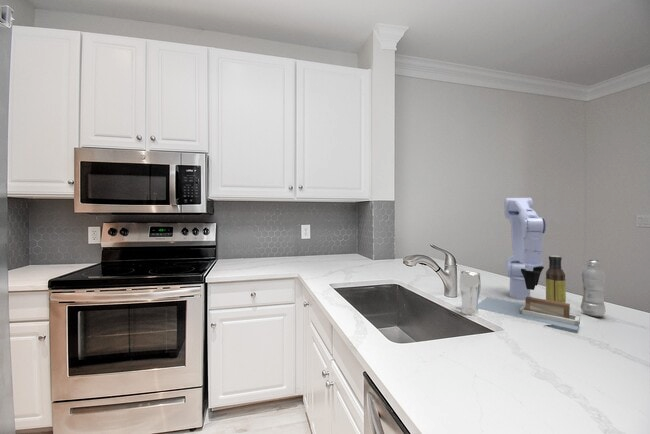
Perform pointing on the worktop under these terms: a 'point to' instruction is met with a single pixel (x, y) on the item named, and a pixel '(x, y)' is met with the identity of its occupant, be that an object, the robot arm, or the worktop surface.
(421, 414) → the worktop surface
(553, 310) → the wooden block
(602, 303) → the plastic bottle
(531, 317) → the wall board
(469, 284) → the beer glass
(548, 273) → the brown medicine bottle
